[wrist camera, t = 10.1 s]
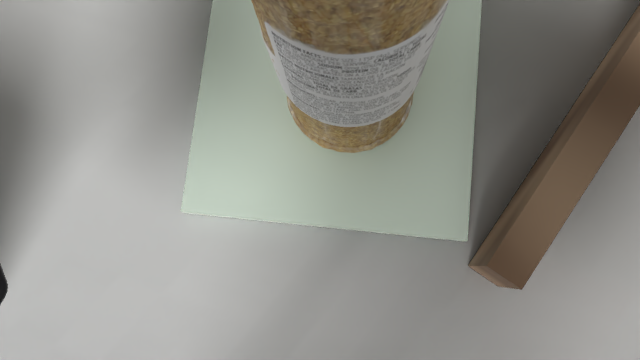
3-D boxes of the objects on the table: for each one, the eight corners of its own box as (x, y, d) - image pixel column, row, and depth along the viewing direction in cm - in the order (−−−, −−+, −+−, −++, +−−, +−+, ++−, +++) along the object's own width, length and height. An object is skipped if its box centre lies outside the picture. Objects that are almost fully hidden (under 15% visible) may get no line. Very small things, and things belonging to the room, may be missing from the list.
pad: (463, 241, 18) (467, 240, 17) (185, 213, 18) (180, 211, 18) (479, -21, 19) (483, -30, 19) (223, -37, 20) (219, -46, 19)
